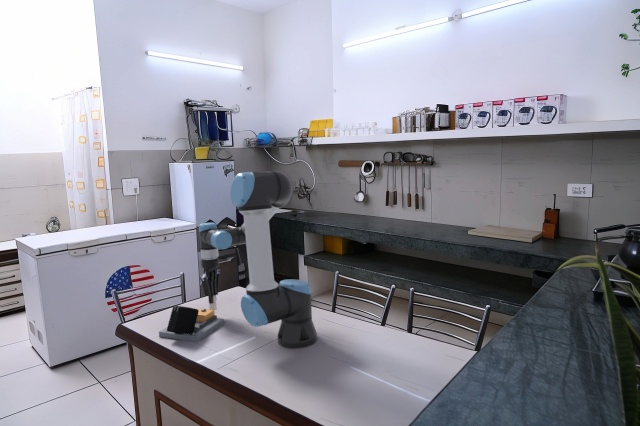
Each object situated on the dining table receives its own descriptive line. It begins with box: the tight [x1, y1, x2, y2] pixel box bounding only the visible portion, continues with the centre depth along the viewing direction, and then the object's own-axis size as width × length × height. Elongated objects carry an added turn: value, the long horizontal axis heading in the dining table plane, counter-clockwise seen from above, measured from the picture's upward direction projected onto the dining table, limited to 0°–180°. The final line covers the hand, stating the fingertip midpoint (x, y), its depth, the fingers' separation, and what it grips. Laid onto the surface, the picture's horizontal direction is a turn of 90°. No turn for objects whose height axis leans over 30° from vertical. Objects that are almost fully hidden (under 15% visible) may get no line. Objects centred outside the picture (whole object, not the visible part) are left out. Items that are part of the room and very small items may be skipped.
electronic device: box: [166, 304, 199, 335], centre depth 163 cm, size 4×10×10 cm, turn 148°
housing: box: [158, 314, 225, 343], centre depth 170 cm, size 18×19×3 cm
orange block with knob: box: [196, 308, 216, 322], centre depth 176 cm, size 8×6×4 cm
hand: (213, 309), depth 183 cm, fingers closed
